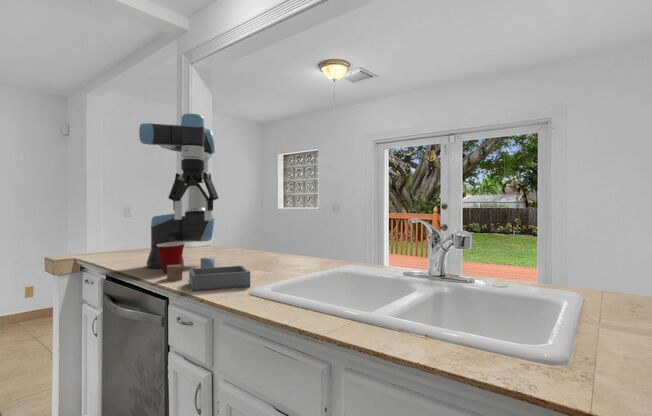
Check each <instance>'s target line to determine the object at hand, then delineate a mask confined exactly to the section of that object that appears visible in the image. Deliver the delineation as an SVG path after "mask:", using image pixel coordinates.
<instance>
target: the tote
mask: <svg viewBox="0 0 652 416" xmlns="http://www.w3.org/2000/svg"><path fill="white" fill-rule="evenodd" d="M188 274H189V276H188V281H189V283H188V284H189V287H190V290H191V293H195V292H196V293H197V292H206V291H207V292H208V291H220V290H230V289H231V290H232V289H242V288H251V271H250V269H249V270H248V269H247V268H246V267H244V266H243V265H231V266H215V267H211V268H201V267H197V268H196V267H195V268H189V273H188Z"/></svg>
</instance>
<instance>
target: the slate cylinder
mask: <svg viewBox="0 0 652 416" xmlns="http://www.w3.org/2000/svg"><path fill="white" fill-rule="evenodd" d="M211 267H216V265H215V257H200V268H211Z"/></svg>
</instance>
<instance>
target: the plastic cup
mask: <svg viewBox="0 0 652 416" xmlns="http://www.w3.org/2000/svg"><path fill="white" fill-rule="evenodd" d="M185 244H186V242H167V243H161V244H157V245H156V246H157V247H158V249H159V252H160V257H161V262H162V267H163V268H162V271H163V273H164V274H167V265H180V264H181V260H182V257H183V251H184V248H185Z"/></svg>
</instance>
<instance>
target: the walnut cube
mask: <svg viewBox="0 0 652 416" xmlns="http://www.w3.org/2000/svg"><path fill="white" fill-rule="evenodd" d="M166 281H167V282H173V281H176V282H177V281H183V266H182V264H181V265H167V273H166Z"/></svg>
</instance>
